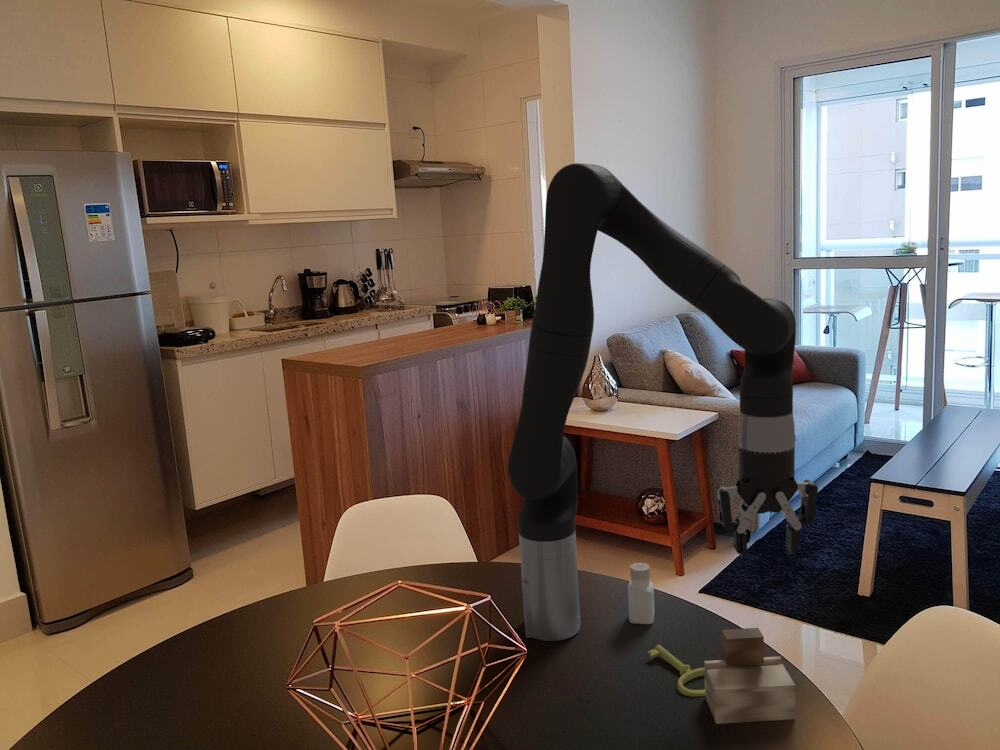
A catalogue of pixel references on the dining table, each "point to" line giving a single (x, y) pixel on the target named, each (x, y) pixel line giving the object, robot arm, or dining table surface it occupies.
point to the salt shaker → (640, 595)
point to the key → (684, 671)
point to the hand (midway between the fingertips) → (766, 553)
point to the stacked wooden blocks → (742, 650)
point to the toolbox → (750, 693)
